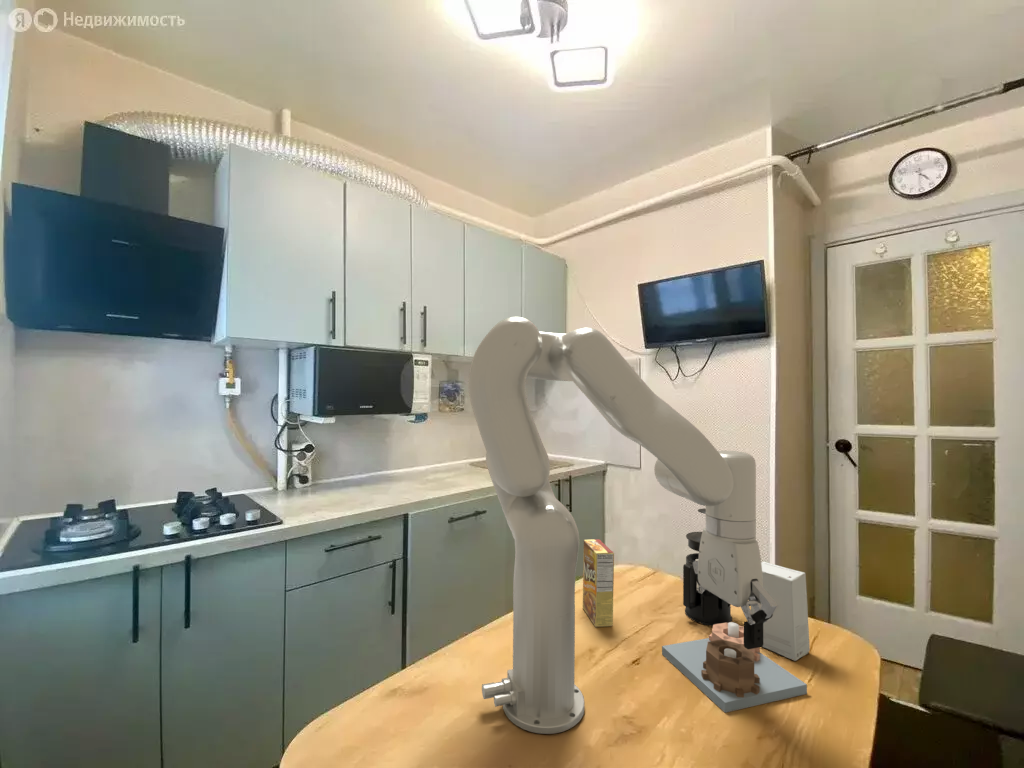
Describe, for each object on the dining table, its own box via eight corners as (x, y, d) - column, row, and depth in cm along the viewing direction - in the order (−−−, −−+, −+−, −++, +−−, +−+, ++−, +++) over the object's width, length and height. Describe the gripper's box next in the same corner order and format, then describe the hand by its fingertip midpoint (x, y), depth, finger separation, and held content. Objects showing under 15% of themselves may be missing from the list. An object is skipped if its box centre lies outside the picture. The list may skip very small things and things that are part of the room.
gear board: (724, 712, 69) (724, 672, 69) (661, 654, 85) (662, 621, 85) (808, 693, 74) (808, 656, 74) (734, 641, 89) (734, 610, 89)
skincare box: (810, 653, 85) (809, 573, 86) (794, 663, 82) (794, 580, 82) (764, 633, 92) (764, 559, 93) (748, 642, 89) (748, 565, 89)
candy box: (581, 607, 103) (582, 539, 103) (599, 606, 103) (600, 538, 104) (595, 628, 94) (595, 553, 94) (614, 626, 95) (615, 552, 95)
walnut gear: (727, 701, 70) (727, 671, 70) (691, 668, 78) (691, 641, 78) (772, 691, 72) (772, 662, 72) (732, 660, 80) (732, 634, 80)
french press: (708, 601, 106) (708, 502, 106) (743, 620, 98) (743, 512, 98) (669, 611, 101) (670, 507, 101) (703, 632, 93) (704, 518, 93)
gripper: (677, 514, 83) (677, 609, 82) (753, 545, 66) (753, 665, 66) (712, 511, 85) (712, 604, 85) (793, 541, 68) (794, 657, 68)
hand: (730, 631), depth 75 cm, fingers open, 9 cm apart
